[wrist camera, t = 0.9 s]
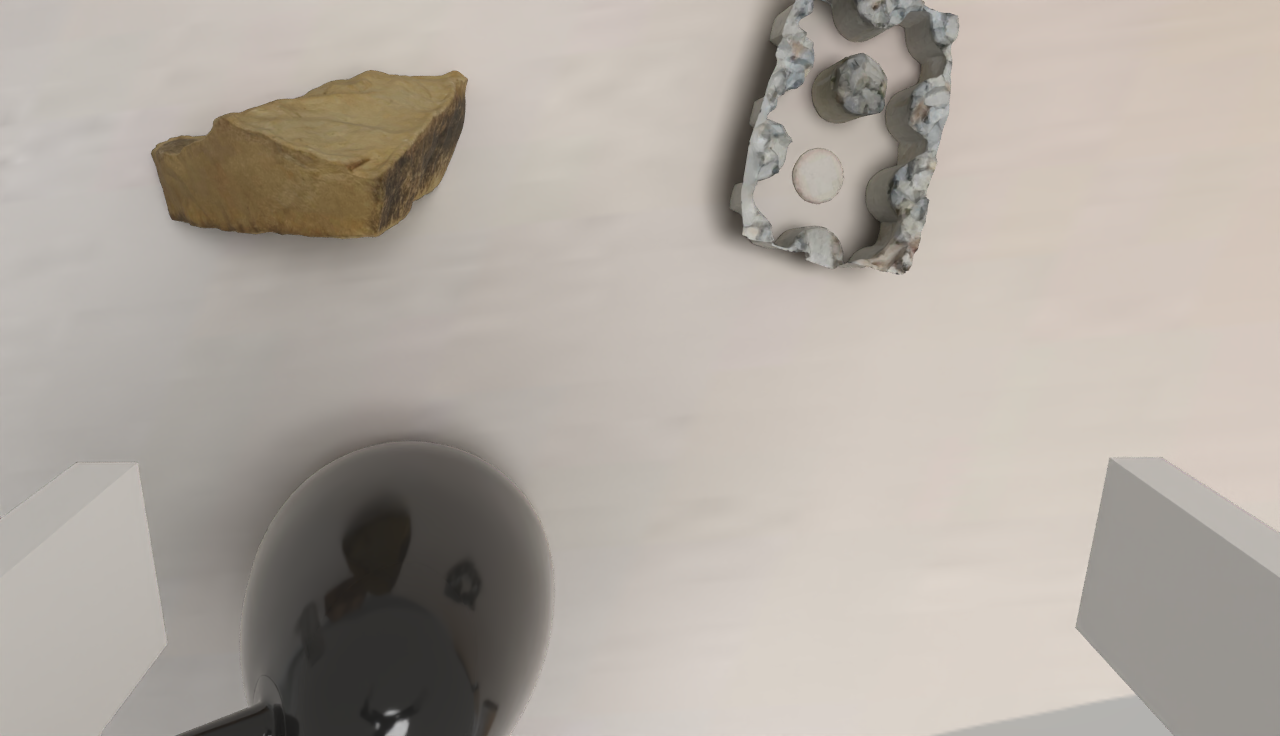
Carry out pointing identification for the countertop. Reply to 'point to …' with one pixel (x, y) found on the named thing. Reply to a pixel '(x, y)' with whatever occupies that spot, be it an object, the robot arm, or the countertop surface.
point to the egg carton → (844, 94)
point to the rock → (318, 158)
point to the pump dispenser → (395, 601)
